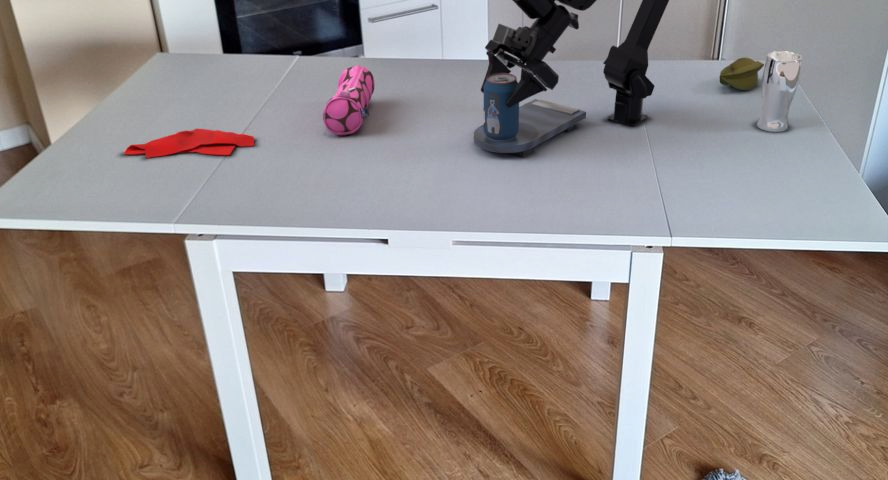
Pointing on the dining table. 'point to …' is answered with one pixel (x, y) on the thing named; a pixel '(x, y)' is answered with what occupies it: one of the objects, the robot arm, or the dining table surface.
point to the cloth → (193, 143)
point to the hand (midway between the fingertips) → (494, 99)
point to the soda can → (500, 108)
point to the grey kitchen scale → (533, 127)
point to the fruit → (741, 74)
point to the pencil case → (349, 101)
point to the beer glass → (778, 89)
